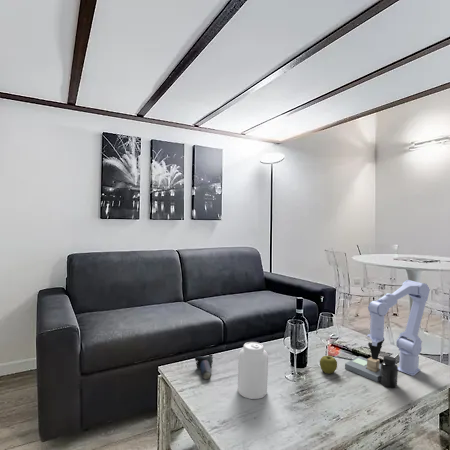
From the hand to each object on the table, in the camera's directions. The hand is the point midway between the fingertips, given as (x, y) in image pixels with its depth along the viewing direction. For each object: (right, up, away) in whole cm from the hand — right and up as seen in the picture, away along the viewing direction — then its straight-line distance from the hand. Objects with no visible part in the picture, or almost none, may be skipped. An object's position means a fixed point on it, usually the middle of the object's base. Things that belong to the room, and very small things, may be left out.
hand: (375, 356), depth 150 cm
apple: (-21, -10, +5) cm, 24 cm away
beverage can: (-80, -9, 0) cm, 80 cm away
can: (-59, -10, -14) cm, 61 cm away
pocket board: (-1, -10, +7) cm, 12 cm away
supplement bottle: (+3, -11, -5) cm, 12 cm away
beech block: (0, -10, +4) cm, 11 cm away
